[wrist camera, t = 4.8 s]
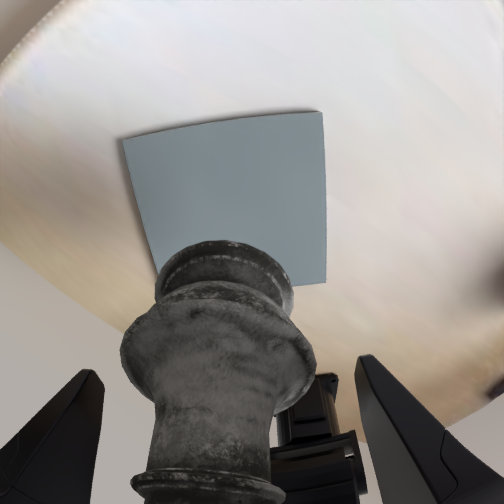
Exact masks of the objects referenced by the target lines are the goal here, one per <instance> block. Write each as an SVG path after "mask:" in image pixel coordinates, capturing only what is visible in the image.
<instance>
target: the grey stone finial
mask: <svg viewBox="0 0 504 504" xmlns="http://www.w3.org/2000/svg"><path fill="white" fill-rule="evenodd" d="M293 300H294V292H293V289H292V285H291V282H290V279H289V276H288V275H287V274H286V272H285V271H284V269H283V268H282V266H281V265H280V264H279V263H278V262H277V261H276V260H274V259H273V258H272V257H271V256H269V255H268V254H267V253H266V252H264V251H262V250H260V249H257V248H255V247H253V246H251V245H248V244H246V243H240V242H235V241H229V240H214V241H204V242H200V243H197V244H194V245H190V246H187V247H185V248H184V249H182V250H181V251H179V252H177V253H176V254H174V255H173V256H171V258H170V259H169V260H168V261H167V262H166V263H165V265H164V266H163V267H162V268H161V270H160V273H159V276H158V278H157V281H156V283H155V301H156V303H155V304H154V305H153V306H152V307H151V308H150V310H149V311H148V312H147V313H145V314H143V315H141V316H140V317H138V318H137V319H136V320H135V321H134V322H133V323H132V325H131V326H130V327H129V328H128V329H127V330H126V332H125V334H124V337H123V340H122V344H121V347H120V356H121V363H122V367H123V369H124V371H125V373H126V374H127V376H128V378H129V380H130V382H131V383H132V384H133V385H134V386H135V387H136V388H137V389H138V390H139V391H140V393H141V394H142V395H144V396H145V397H146V398H148V399H149V400H151V401H152V402H154V403H155V414H156V420H155V425H154V430H153V435H152V441H151V446H150V451H149V456H148V462H147V468H146V472H144V473H142V474H138V475H135V476H134V477H133V478H132V479H131V481H130V484H131V486H132V488H133V489H134V490H135V491H136V492H137V493H139V495H140V496H142V497H143V498H145V501H144V504H281V503H282V502H284V501H285V497H286V494H285V492H284V491H282V490H281V489H280V488H279V487H276V486H274V485H273V484H271V468H270V445H269V430H270V426H271V421H272V417H273V415H275V414H277V413H279V412H281V411H283V410H285V409H287V408H289V407H291V406H292V405H293V404H295V403H296V402H297V401H298V400H299V399H300V398H301V397H303V396H304V395H305V394H306V392H307V391H308V389H309V387H310V386H311V384H312V383H313V381H314V378H315V372H316V366H317V363H316V359H315V356H314V352H313V349H312V346H311V344H310V343H309V342H308V340H307V339H306V338H305V337H304V335H303V334H302V333H301V332H300V330H299V329H298V328H297V327H296V326H295V325H294V324H293V322H292V321H291V320H290V318H289V317H290V315H291V312H292V309H293Z"/></svg>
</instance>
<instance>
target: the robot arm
mask: <svg viewBox="0 0 504 504" xmlns="http://www.w3.org/2000/svg"><path fill="white" fill-rule="evenodd" d="M354 376H355V384H356V390H357V396H358V402H359V408H360V415H361V421H362V425H363V429H364V433H365V436H366V440H367V443H368V447H369V451H370V455H371V458H372V462H373V466H374V470H375V474H376V477H377V481H378V485H379V489H380V493H381V497H382V502H383V504H504V478H503V477H502V476H500V475H499V474H498V473H496V472H495V471H494V470H493V469H491V468H490V467H489V466H487V465H486V464H485V463H483V462H482V461H481V460H480V459H478V458H477V457H476V456H475V455H473V454H472V453H471V452H470V451H469V450H467V449H466V448H465V447H464V446H463V445H462V444H461V443H460V442H459V441H458V440H457V439H456V438H454V436H452V435H451V433H450V432H449V431H448V430H445V427H444V426H443V425H442V424H441V423H440V422H439V421H438V420H437V419H436V418H435V417H434V416H433V415H432V414H431V413H430V412H429V411H428V410H427V409H426V408H425V407H424V406H423V405H422V404H421V403H420V402H419V401H418V400H417V399H416V398H415V397H414V396H413V395H412V394H411V393H410V392H409V391H408V390H407V389H406V388H405V387H404V386H403V385H402V384H401V383H400V382H399V381H398V380H397V379H396V378H395V377H394V376H393V375H392V374H391V373H390V372H389V371H388V370H387V369H386V368H385V367H384V366H383V365H382V364H381V363H380V362H379V361H378V360H377V359H376V358H375V357H374V356H373V355H371V354H367V355H362V356H359V357H358V359H357V363H356V368H355V374H354ZM338 381H339V379H338V376H337V375H335V374H334V375H326V376H319V377H315V378H314V381H313V383H312V384H311V386H310V387H309V389H308V391H307V392H306V394H305V395H304V396H303V397H301V398H300V399H299V400H298V401H297V402H296V403H295V404H293V405H292V406H291V407H289V408H287V409H285V410H283V411H281V412H279V413H277V414H275V415H273V416H274V417H276V420H277V436H278V447H273V448H270V468H271V484H273V485H274V486H276V487H279V488H280V489H281V490H282V491H284V492H285V494H286V497H285V501H284V502H282V503H281V504H360V500H359V495H363V494H367V493H368V491H367V484H366V477H365V472H364V467H363V463H362V458H361V453H360V449H359V445H358V441H357V436H356V432H355V430H351V431H349V432H347V433H343V434H340V430H339V425H338V420H337V414H336V409H335V405H334V404H335V399H336V393H337V387H338ZM104 392H105V388H104V384H103V382H102V381H101V380H100V378H99V377H98V375H97V374H96V372H95V371H94V370H92V369H82V370H81V371H80V372H79V373H78V374H76V375H75V376H74V377H73V378H72V379H71V380H70V381H69V382H68V383H67V384H66V385H65V386H64V387H63V388H62V389H61V390H60V391H59V392H58V393H57V394H56V395H55V396H54V397H53V398H52V399H51V400H50V401H49V402H48V403H47V404H46V405H45V406H44V407H43V408H42V409H41V410H40V411H39V412H38V413H37V414H36V415H35V416H34V417H33V418H32V419H31V420H30V421H29V422H28V423H27V424H26V425H25V426H24V427H23V428H22V429H21V430H20V431H19V432H18V433H17V434H16V435H15V436H14V437H13V438H12V439H11V440H10V441H9V442H8V443H7V444H6V445H5V446H3V448H1V449H0V504H90V498H91V489H92V482H93V475H94V468H95V461H96V455H97V449H98V443H99V437H100V431H101V424H102V412H103V402H104ZM352 453H353V455H352V456H348V457H345V455H348V454H352Z"/></svg>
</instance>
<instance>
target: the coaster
mask: <svg viewBox="0 0 504 504" xmlns="http://www.w3.org/2000/svg"><path fill="white" fill-rule="evenodd" d="M122 143H123V148H124V152H125V157H126V161H127V165H128V169H129V173H130V177H131V181H132V185H133V189H134V193H135V197H136V201H137V204H138V208H139V212H140V215H141V219H142V222H143V226H144V229H145V233H146V236H147V240H148V243H149V246H150V249H151V253H152V256H153V259H154V262H155V265H156V269H157V272H158V275H159V273H160V270H161V268H162V267H163V266H164V265H165V263H166V262H167V261H168V260H169V259H170V258H171V256H173V255H174V254H176V253H177V252H179V251H181V250H182V249H184V248H185V247H187V246H190V245H194V244H197V243H200V242H204V241H214V240H229V241H235V242H240V243H246V244H248V245H251V246H253V247H255V248H257V249H260V250H262V251H264V252H266V253H267V254H268V255H269V256H271V257H272V258H273V259H274V260H276V261H277V262H278V263H279V264H280V265H281V266H282V268H283V269H284V271H285V272H286V274H287V275H288V276H289V279H290V282H291V285H292V287H293V286H302V285H311V284H319V283H326V248H327V222H326V174H325V150H324V131H323V116H322V112H303V113H288V114H276V115H265V116H255V117H246V118H238V119H230V120H223V121H216V122H209V123H203V124H197V125H191V126H185V127H180V128H174V129H169V130H164V131H159V132H155V133H150V134H145V135H141V136H136V137H132V138H128V139H125V140H123V141H122Z"/></svg>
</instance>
